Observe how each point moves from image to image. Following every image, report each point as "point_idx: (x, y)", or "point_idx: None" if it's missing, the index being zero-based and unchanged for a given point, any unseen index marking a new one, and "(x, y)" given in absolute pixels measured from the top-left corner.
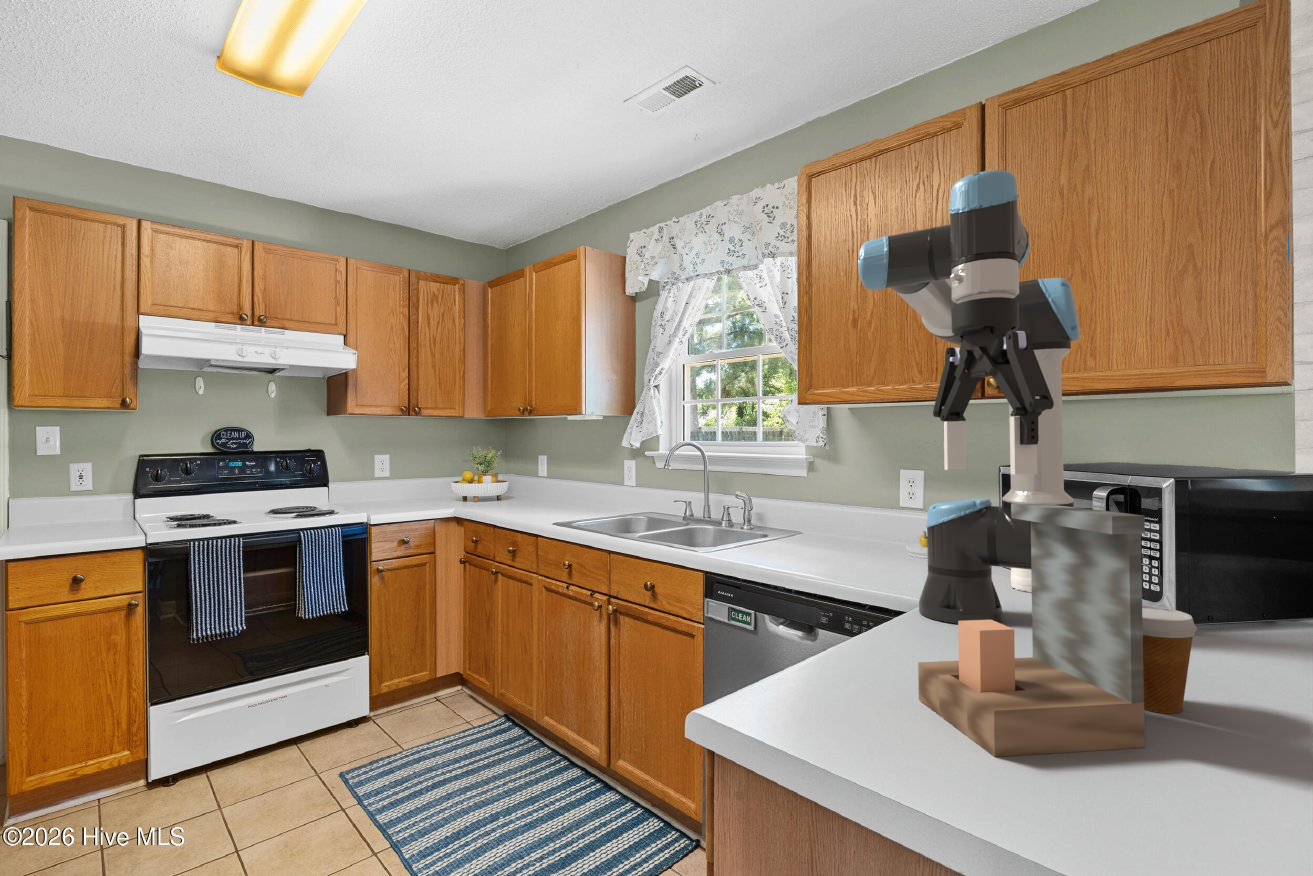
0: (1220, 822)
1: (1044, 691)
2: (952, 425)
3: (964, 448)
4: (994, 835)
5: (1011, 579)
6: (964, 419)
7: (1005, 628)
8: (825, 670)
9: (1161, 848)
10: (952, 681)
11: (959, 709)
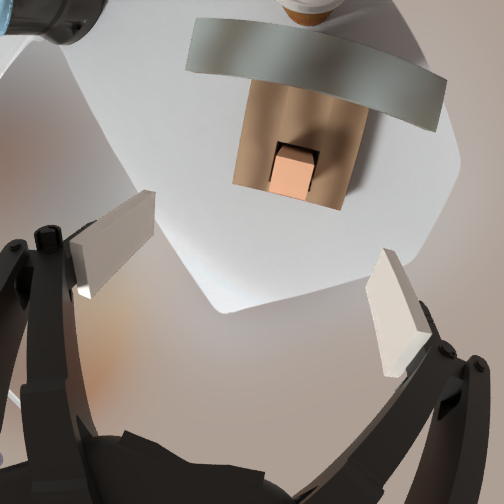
0: (434, 155)
1: (327, 140)
2: (95, 277)
3: (129, 215)
4: None
5: None
6: (61, 236)
7: (308, 171)
8: (164, 204)
9: (431, 207)
10: None
11: None
